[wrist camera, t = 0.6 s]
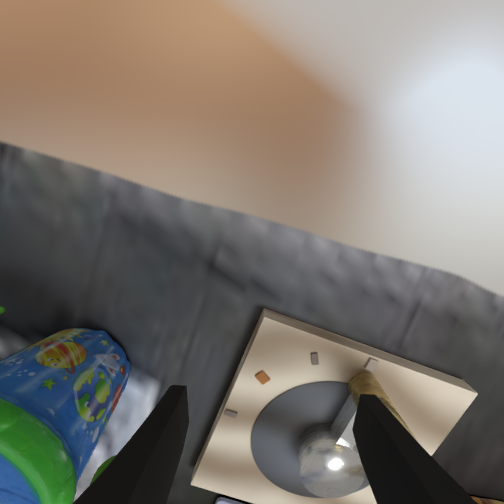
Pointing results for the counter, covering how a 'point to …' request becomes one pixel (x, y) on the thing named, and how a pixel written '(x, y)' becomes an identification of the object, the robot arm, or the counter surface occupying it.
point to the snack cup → (56, 412)
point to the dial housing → (310, 409)
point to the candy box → (486, 501)
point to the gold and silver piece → (338, 445)
